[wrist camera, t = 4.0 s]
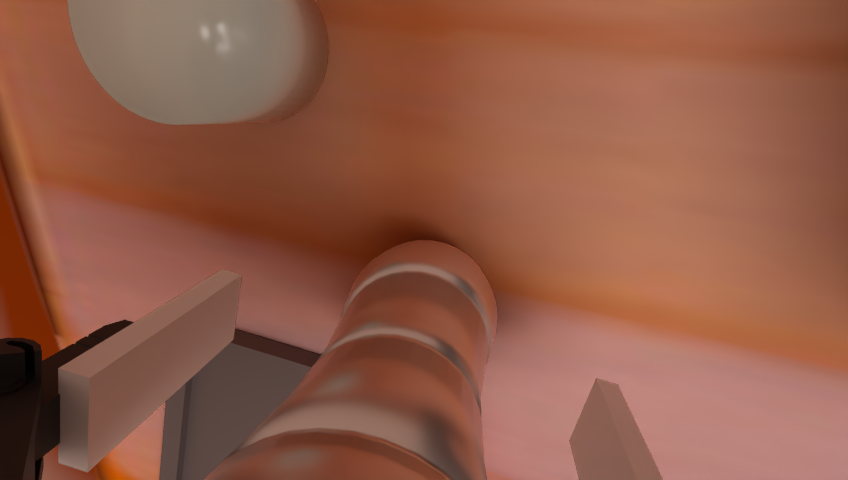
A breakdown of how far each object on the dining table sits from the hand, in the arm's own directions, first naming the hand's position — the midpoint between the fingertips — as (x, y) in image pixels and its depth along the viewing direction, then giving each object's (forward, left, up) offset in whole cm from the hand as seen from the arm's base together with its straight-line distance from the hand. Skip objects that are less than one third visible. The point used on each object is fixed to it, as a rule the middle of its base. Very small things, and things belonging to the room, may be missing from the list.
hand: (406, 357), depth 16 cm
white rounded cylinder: (-9, -10, -6) cm, 15 cm away
